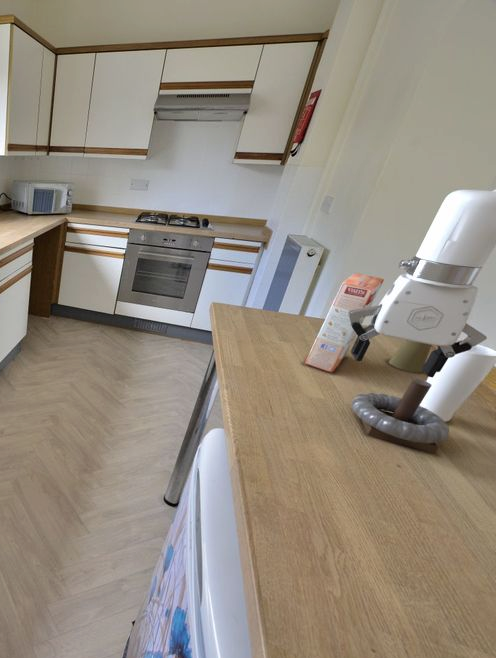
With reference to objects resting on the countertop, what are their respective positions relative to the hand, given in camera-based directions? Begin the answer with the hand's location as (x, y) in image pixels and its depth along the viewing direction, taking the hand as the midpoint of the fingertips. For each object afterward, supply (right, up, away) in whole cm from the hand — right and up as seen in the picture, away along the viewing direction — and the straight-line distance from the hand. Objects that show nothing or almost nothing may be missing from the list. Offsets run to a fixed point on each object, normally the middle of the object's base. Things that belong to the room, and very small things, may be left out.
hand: (390, 365), depth 73 cm
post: (+4, -12, +3) cm, 13 cm away
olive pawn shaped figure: (+31, -2, +28) cm, 42 cm away
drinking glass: (+16, -10, +9) cm, 21 cm away
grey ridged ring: (+3, -9, +2) cm, 10 cm away
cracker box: (+12, -1, +28) cm, 31 cm away
